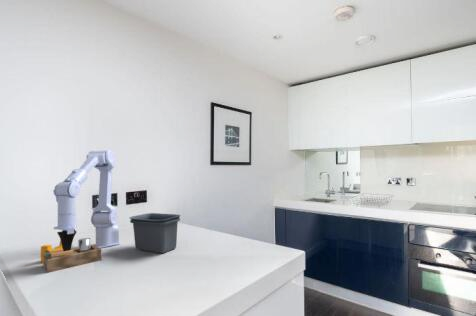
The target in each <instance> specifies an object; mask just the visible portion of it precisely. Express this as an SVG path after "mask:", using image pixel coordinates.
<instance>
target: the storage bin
mask: <svg viewBox="0 0 476 316" xmlns="http://www.w3.org/2000/svg"><path fill="white" fill-rule="evenodd" d="M181 216H182V215H181V214H176V213H175V214H173V213H157V212H152V213H151V212H149V213H144V214H139V215H133V216H129V223H130V224H132V227H133V236H134V246H135V249H136V250H140V251H145V252H146V251H147V252H153V253H158V254H164V253H167V252H170V251H171V250H174V249H176V248H177V238H178V236H177V235H178V222H181Z"/></svg>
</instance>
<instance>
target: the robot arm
mask: <svg viewBox="0 0 476 316" xmlns="http://www.w3.org/2000/svg"><path fill="white" fill-rule="evenodd" d="M115 158H116V157H115V154H114V153H113V151H112V150H110V149H108V150H89V152H88V153H87V154H86V158H85V160H84V162H83V163H82V165H81V166H80V167H79V168H76V169H73V170H72V171H71V173H69V175H68V176H67V177H66V178H65V179H64V180H63V181H61V182H58V183H57V184H56V185H55V186H54V190H52V191H53V195H54V196H55V201H56V202H57V226H54V227H53V230H61V231H57V236H58V237H59V241H60V240H61V243H62V248H63V251H68V250H71V249H72V247H73V241H74V238H75V235H76V234H77V230H76V227H77V219H76V218H77V216H76V214H77V212H76V209H77V208H76V207H77V204H76V200H77V199H76V198H77V196H78V195H79V194H80V191H81V187H82V185H83V183H84V182H85V181H86V180H87V179H88V173H90V171H92V170H93V169H94V168H95V169H97V170H98V171H99V183H98V187H99V188H98V202H97V203H98V204H97V206H96V207H94V208H93V209H92V215H90V216H91V217H90V222H91V225H93V227H94V228H95V243H93V244H92V245H96V246H97V247H98V248H100V249H103V248H107V247H112V246H117V245H120V233H119V232H120V230H119V225H118V224H117V221H118V215H117V208H116V207H115V206H113V205H112V203H111V201H112V185H113V169H114V168H115V161H116V160H115Z"/></svg>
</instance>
